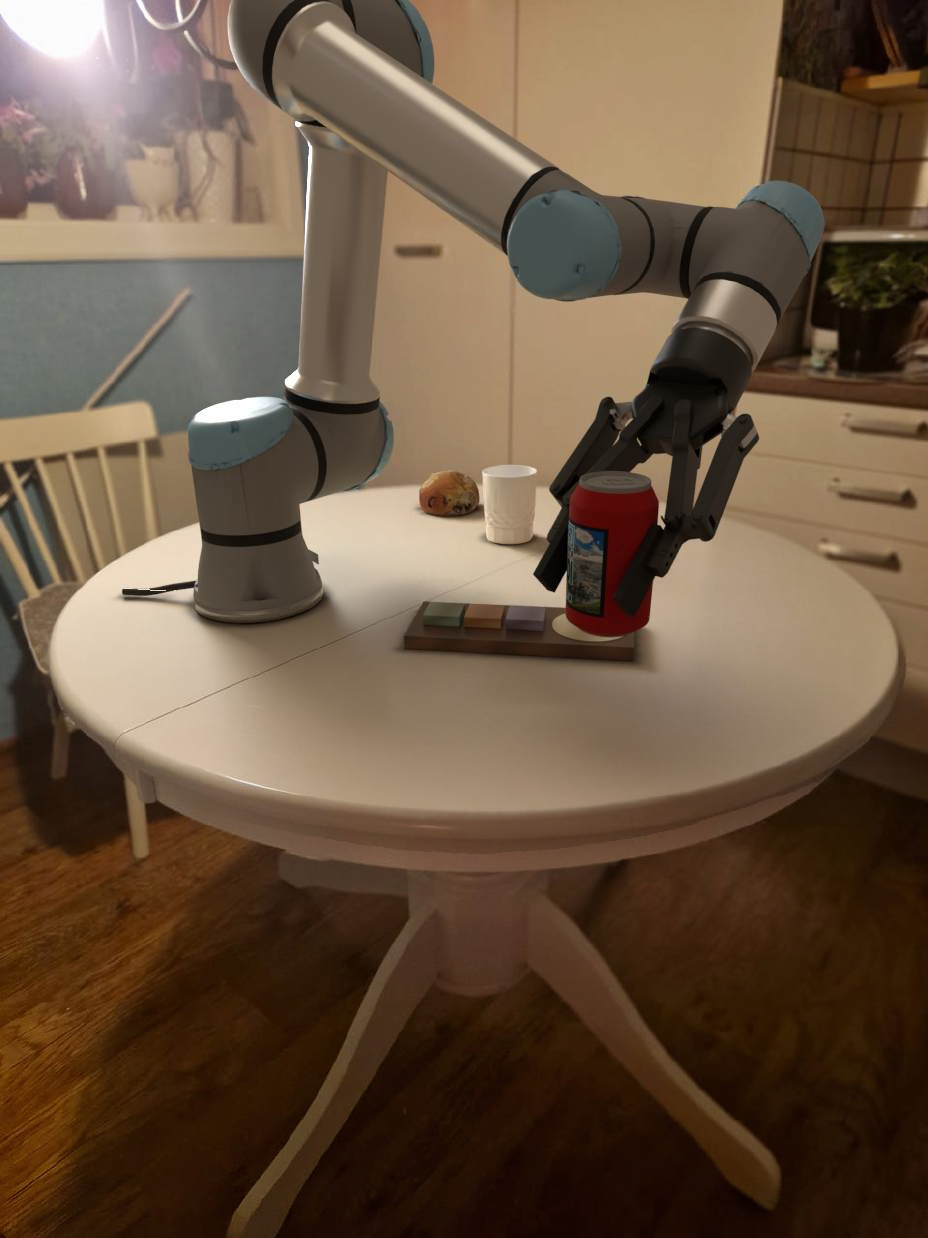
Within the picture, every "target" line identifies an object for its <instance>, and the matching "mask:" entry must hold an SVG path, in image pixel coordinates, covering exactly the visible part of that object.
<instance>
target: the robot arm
mask: <svg viewBox="0 0 928 1238" xmlns="http://www.w3.org/2000/svg"><path fill="white" fill-rule="evenodd" d="M227 37H228V43H229V48H230V52H231V54H232V57H233V60H234V63H235V64H236V66H237V68H238V69H239V72H240V73H241V75H242V77H243V78H244V79H245V80H246V82H247V83H248V84H249V85H250V87H251V88H252V89H254V90H255V92H257V93H258V94H260V95H261V96H262V97H263V98H265V99H266V100H267V101H268V102H269V103H271V104H273V105H274V106H276V107H277V108H278V109H280V110H281V111H283V112H284V113H286V114H287V115H288V116H290V117H291V118H292V119H294V120H295V127H296V128H297V129H298V131H299V132H300V133H301V134H302V136H303V137H304V139H305V140H306V142H307V144H308V147H309V149H308V153H309V154H308V169H307V187H306V188H307V189H306V207H305V208H306V209H305V229H304V246H303V247H304V248H303V265H302V266H303V267H302V288H301V306H300V308H301V309H300V327H299V328H300V329H299V346H298V347H299V350H298V366H297V369H296V370H295V371H294V372H292V374H291V375H288V377H287V378H286V379H285V380H284V389H283V390H284V392H283V393H284V394H283V398H280V397H275V396H252V397H246V398H242V399H233V400H227V401H224V402H219V403H217V404H214V405H211V406H209V407H206V408H204V409H202V410H200V411H198V412H197V413H196V414H195V415H193V416H192V418H191V419H190V421H189V424H188V426H187V442H188V443H187V444H188V450H187V451H188V452H187V458H188V459H187V460H188V463H189V464H190V467H191V473H192V474H191V475H192V481H193V488H194V495H195V503H196V509H197V517H198V523H199V529H200V536H201V549H200V555H199V562H198V568H197V579H195V580H190V581H182V582H176V583H170V584H165V585H160V586H156V587H155V586H154V587H148V588H149V589H150V590H166V591H150V590H138V589H139V588H133V589H123V588H122V589H121V594H122V595H123V596H134V597H145V596H146V597H147V596H156V595H160V594H166V593H171V592H175V591H174V590H176V591H183V590H190V589H193V601H194V608H195V610H196V611H197V612H198V613H199V615H201V616H203V617H205V618H207V619H210V620H214V621H216V622H217V621H218V622H224V623H233V624H250V623H251V624H252V623H264V622H272V621H277V620H281V619H285V618H289V617H294V616H296V615H299V614H301V613H304V612H306V611H309V610H310V609H312V608H314V607H315V606H316V605H317V604H318V603H320V601H321V600H322V598H323V596H324V589H323V582H322V578H321V575H320V573H319V571H318V569H317V568H316V567H315V564H317V565H320V562H319V554H318V553H317V552H314V551H313V550H311V549H309V548H308V546H307V542H306V541H305V539H304V535H303V529H302V527H303V526H302V518H301V517H302V515H301V506H300V505H302V504H305V503H308V502H311V501H314V500H317V499H320V498H324V497H327V496H330V495H333V494H337V493H341V492H349V491H352V490H356V489H357V488H359V487H361V486H362V485H364V484H366V483H369V482H371V481H373V480H374V479H376V478H377V477H378V476H379V475H381V473H383V472H384V470H385V469H386V467H387V466H388V464H389V462H390V460H391V457H392V454H393V450H394V446H395V445H394V444H395V431H394V425H393V421H392V420H389V418H388V416H389V412H388V410H387V408H386V406H385V405H384V404H383V403H382V402H381V390H380V388H379V387H378V386H377V384H375V382H374V381H373V380H372V378H371V376H370V374H371V373H370V372H371V362H372V353H373V343H374V342H373V341H374V329H375V320H376V319H375V318H376V310H377V309H376V307H377V297H378V288H379V287H378V286H379V274H380V265H381V252H382V244H383V243H382V242H383V232H384V231H383V230H384V220H385V209H386V197H387V188H388V186H387V185H388V177H389V173H390V174H392V175H393V176H395V178H397V179H398V180H400V181H401V182H403V183H404V184H405V185H407V186H408V187H410V188H411V189H412V190H414V191H415V192H416V193H418V194H420V195H421V196H422V197H424V198H425V199H426V200H428V201H429V202H430V203H432V204H434V205H435V206H436V207H438V208H439V209H440V210H442V211H443V212H445V213H446V214H448V215H449V216H450V217H452V218H453V219H454V220H456V221H457V222H459V223H461V224H462V225H463V226H464V227H466V228H467V229H469V231H471V232H473V233H474V234H475V235H477V236H478V237H480V238H481V239H482V240H484V241H486V242H487V243H488V244H490V245H491V246H492V247H494V248H495V249H497V250H498V251H500V252H501V253H503V255H505V256H506V257H507V260H508V264H509V267H510V268H511V269H512V272H513V274H514V277H515V278H516V280H517V283H519V285H520V286H521V287H522V288H523V289H524V290H525V291H527V292H528V293H529V294H531V295H533V296H535V297H538V298H541V299H546V300H554V301H558V302H566V303H567V302H569V303H570V302H577V301H583V300H586V299H592V298H601V297H607V296H620V295H630V294H641V293H643V294H655V295H661V296H667V297H674V298H681V299H687V301H686V302H685V304H684V306H683V307H682V309H681V312H680V313H679V315H678V317H677V318H676V320H675V321H674V324H673V325H672V327H671V331H670V334H669V335H668V336H667V338H666V339H665V341H664V343H663V345H662V346H661V349H660V350H659V351H658V354H657V355H656V357H655V360H654V361H653V363H652V365H651V366H650V369H649V373H648V376H647V381H646V384H645V387H644V388H643V389H642V390H641V391H640V392H639V393H638V394H637V395H635V396H634V397H633V399H632V400H631V401H624V402H615V400H614V399H613V398H614V397H612V396H605V397H603V398H602V399H601V400H600V402H599V405H598V408H597V412H596V415H595V417H594V420H593V422H592V423H591V424H590V426H589V428H588V429H587V430H586V432H585V434H584V435H583V436H582V438H581V439H580V441H579V442H578V443H577V445H576V447H575V448H574V450H573V451H572V452H571V454H570V456H569V457H568V458H567V460H566V461H565V463H564V464H563V466H562V467H561V469H560V470H559V472H558V473H557V475H556V477H555V478H554V479H553V481H552V482H551V484H550V485H549V487H548V491H549V493H550V494H551V496H552V497H553V498H554V500H555V501H556V502H557V503H558V505H559V506H560V507H561V508H560V510H559V512H558V514H557V516H556V518H555V519H554V521H553V523H552V524H551V527H550V528H549V530H548V532H547V534H546V541H547V542H548V545H547V548H546V549H545V551H544V553H543V555H542V557H541V558H540V560H539V562H538V564H537V566H536V567H535V569H534V571H533V573H532V575H533V577H534V578H535V579H536V580H537V581H538V582H539V583H540V585H542V586H543V587H544V588H545V590H546V591H548V592H551V593H556V591H557V589H558V588H559V586H560V585H561V582H562V580H563V578H564V576H565V575H566V574H567V549H568V526H569V506H570V498H571V496H572V494H573V493H574V491H575V489H576V488H577V486H578V484H579V483H580V477H581V476H583V475H585V474H588V473H593V472H601V471H623V472H632V471H634V469H635V468H636V467H637V466H638V465H639V464H641V465H642V464H645V463H646V462H647V461H648V460H649V459H650V458H651V457H652V456H653V455H662V454H666V455H669V456H670V457H672V458H671V466H670V471H669V472H670V473H669V480H668V489H667V496H666V501H665V502H666V504H665V510H664V515H660V520H661V521H662V523H663V524H664V527H662V525H660V524H658V525H657V524H651V526H650V528H649V530H648V532H647V534H646V535H645V537H644V539H643V541H642V543H641V545H640V547H639V549H638V551H637V553H636V555H635V556H634V558H633V560H632V562H631V564H630V566H629V568H628V570H627V572H626V574H625V576H624V577H623V579H622V581H621V583H620V585H619V587H618V589H617V591H616V593H615V595H614V597H613V599H614V600H615V602H616V603H617V604H618V605H619V607H620V608H621V609H622V610H623V612H624V613H625V614H626V615H629V616H632V617H635V615H636V613H637V611H638V609H639V607H640V605H641V603H642V601H643V600H644V598H645V596H646V594H647V592H648V590H649V588H650V586H651V584H652V582H653V583H654V581H655V579H656V577H658V578H661V579H663V578H664V577H666V575H667V574H668V573H669V572H670V569H671V567H672V566H673V563H674V561H675V560H676V558H677V556H678V554H679V552H680V550H681V548H682V546H683V545H684V544H686V543H687V542H688V541H690V540H700V541H702V542H704V543H706V542H710V541H712V540H713V539H714V537H715V536H716V533H717V530H718V528H719V526H720V523H721V520H722V518H723V515H724V512H725V510H726V507H727V505H728V502H729V500H730V497H731V495H732V494H731V493H732V492H733V488H734V487H735V486H734V485H735V483H736V482H737V481H736V480H737V478H738V475H739V473H740V470H741V467H742V464H743V462H744V459H745V458H746V457H747V456H748V455H749V453H750V452H751V451H752V450H753V448H754V447H755V446H756V445H757V444H758V442H759V440H760V435H759V433H758V430H757V427H756V425H755V422H754V419H753V417H752V416H751V414H750V413H741V414H740V415H738V416H736V415H733V414H732V413H733V412H734V411H735V409H736V408H737V406H738V405H739V402H740V400H741V398H742V396H743V394H744V392H745V391H746V389H747V387H748V385H749V383H750V381H751V379H752V376H753V372H754V371H755V370H756V368H757V367H758V364H759V363H760V360H761V358H762V357H763V355H764V353H765V351H766V349H767V347H768V345H769V343H770V341H771V340H772V337H773V336H774V334H775V332H776V330H777V328H778V326H779V323H780V322H781V319H782V318H783V317H784V314H785V312H786V311H787V308H788V307H789V306H790V303H791V301H792V299H793V297H794V296H795V294H796V292H797V291H798V288H799V286H800V285H801V283H802V281H803V280H804V278H805V277H806V276H807V274H808V272H809V270H810V268H811V265H812V264H811V263H812V260H813V258H814V256H815V253H816V251H817V249H818V247H819V244H820V242H821V239H822V237H823V234H824V232H825V226H826V222H825V217H824V212H823V209H822V207H821V205H820V203H819V202H818V200H817V199H816V197H814V195H813V194H812V193H810V192H809V191H808V190H807V189H805V188H804V187H802V186H800V185H798V184H796V183H793V182H789V181H785V180H769V181H768V182H766V183H763V184H760V185H759V184H758V185H755V186H754V187H752V188H751V189H750V190H749V191H748V192H747V193H746V194H745V196H744V197H743V198H742V199H741V200H740V201H739V202H738V203H737V206H735V208H733V207H725V206H711V205H710V206H702V205H696V204H690V203H683V202H682V203H681V202H677V201H676V202H674V201H668V200H662V199H661V200H660V199H651V198H645V197H643V196H638V195H636V196H634V195H633V196H632V195H621V196H616V195H606V194H601V193H598V192H597V191H596V190H593V189H591V188H590V187H588V186H587V185H586V184H584V183H582V182H581V181H580V180H578V179H576V178H575V177H574V176H572V175H570V174H569V173H567V172H565V171H563V170H561V169H560V167H559V166H557V165H555V164H554V163H553V162H551V161H549V160H548V159H546V158H545V157H543V156H542V155H540V154H539V153H537V152H536V151H535V150H532V149H531V148H529V147H528V146H527V145H525V144H524V143H522V142H521V141H519V140H518V139H516V138H515V137H513V136H512V135H510V134H509V133H507V132H505V131H504V130H503V129H501V128H500V127H497V126H496V125H495V124H493V123H492V122H490V121H489V120H487V119H486V118H484V117H483V116H481V115H480V114H478V113H477V112H476V111H474V110H472V109H471V108H469V107H468V106H466V105H465V104H463V103H462V102H460V101H458V100H457V99H456V98H454V97H453V96H451V95H450V94H448V93H447V92H445V91H443V90H442V89H440V88H439V87H438V86H436V85H434V84H433V82H434V78H435V77H434V76H435V51H434V50H435V49H434V45H433V41H432V37H431V33H430V30H429V27H428V25H427V24H426V21H425V20H424V19H423V17H422V15H421V13H420V12H419V10H418V9H417V7H416V6H415V5H414V3H412V2H411V1H410V0H230V3H229V6H228V13H227ZM631 419H632V420H631ZM630 420H631V421H630ZM626 424H627V425H626ZM718 436H720V440H719V441H718V443H717V446H716V448H715V450H714V451H715V452H714V454H713V456H712V459H711V461H710V464H709V466H708V469H707V472H706V475H705V477H704V479H703V482H702V485H701V487H700V490H699V491H698V495H697V498H696V499H695V495H696V486H697V478H698V470H700V469H701V463H702V456H703V455H702V454H703V446H705V445H706V444H707V443H710V441H712V440H714V439H715V438H716V437H718ZM314 563H315V564H314Z"/></svg>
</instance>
